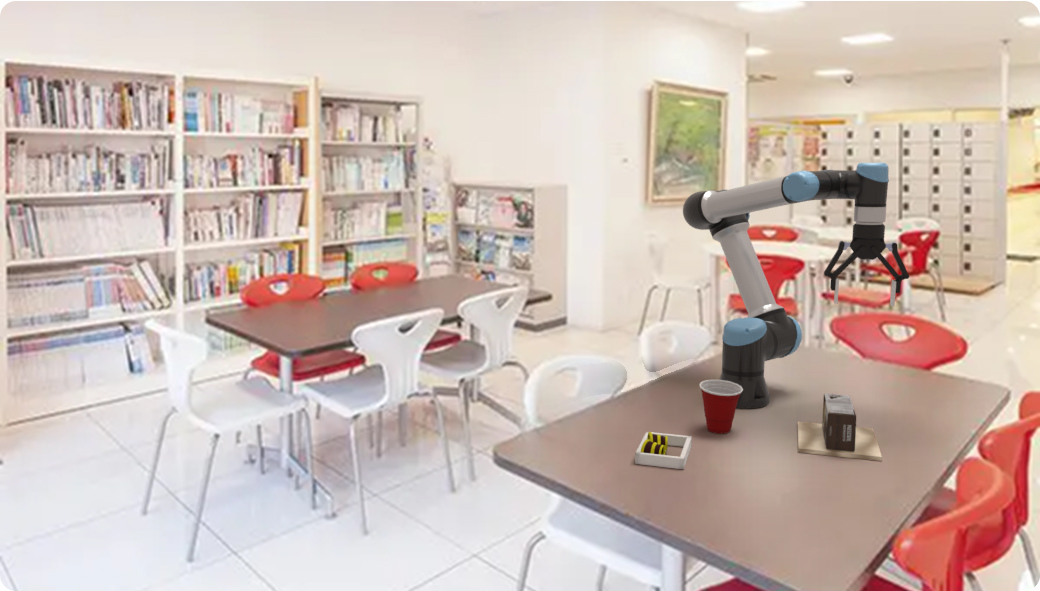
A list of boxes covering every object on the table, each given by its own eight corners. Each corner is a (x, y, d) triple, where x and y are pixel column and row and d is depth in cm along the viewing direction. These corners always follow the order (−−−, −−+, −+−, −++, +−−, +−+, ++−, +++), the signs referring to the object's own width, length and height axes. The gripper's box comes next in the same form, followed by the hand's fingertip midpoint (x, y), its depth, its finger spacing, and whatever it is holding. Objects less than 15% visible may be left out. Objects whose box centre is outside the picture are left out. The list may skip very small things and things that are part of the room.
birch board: (798, 452, 182) (798, 448, 182) (797, 425, 201) (797, 421, 201) (881, 461, 177) (881, 456, 176) (872, 432, 195) (873, 428, 195)
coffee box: (848, 429, 194) (854, 453, 179) (821, 426, 196) (825, 450, 181) (850, 394, 193) (857, 415, 178) (823, 392, 195) (827, 413, 180)
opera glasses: (663, 466, 176) (663, 445, 175) (640, 463, 177) (640, 442, 176) (669, 450, 185) (669, 431, 184) (647, 448, 186) (647, 428, 185)
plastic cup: (717, 440, 191) (719, 393, 188) (689, 427, 200) (690, 383, 198) (750, 433, 196) (752, 387, 193) (721, 420, 205) (722, 377, 203)
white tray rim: (635, 463, 177) (635, 453, 176) (646, 441, 191) (646, 431, 190) (683, 469, 173) (683, 458, 173) (691, 446, 187) (691, 436, 187)
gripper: (920, 222, 198) (914, 303, 201) (816, 221, 206) (812, 299, 209) (925, 225, 191) (918, 309, 194) (817, 223, 199) (813, 304, 202)
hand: (863, 304), depth 202 cm, fingers open, 13 cm apart
